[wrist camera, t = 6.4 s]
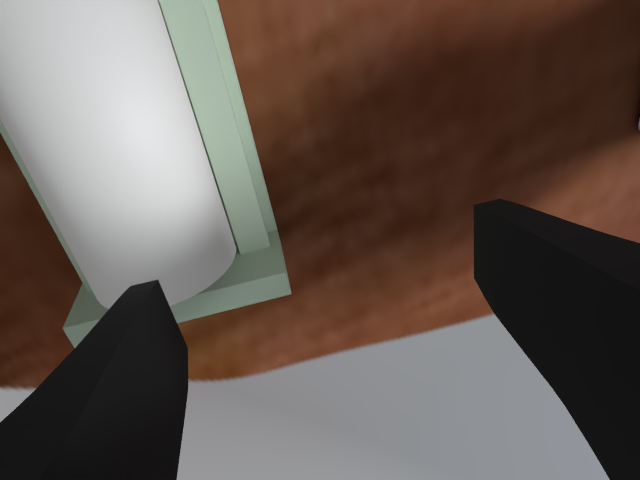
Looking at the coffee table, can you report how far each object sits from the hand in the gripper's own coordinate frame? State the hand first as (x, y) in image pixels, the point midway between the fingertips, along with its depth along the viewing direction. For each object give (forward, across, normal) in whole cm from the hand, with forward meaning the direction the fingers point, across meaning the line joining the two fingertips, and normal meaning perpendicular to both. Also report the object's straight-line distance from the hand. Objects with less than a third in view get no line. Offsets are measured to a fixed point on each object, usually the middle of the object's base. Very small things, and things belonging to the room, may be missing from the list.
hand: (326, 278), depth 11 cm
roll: (+6, +5, -2) cm, 8 cm away
